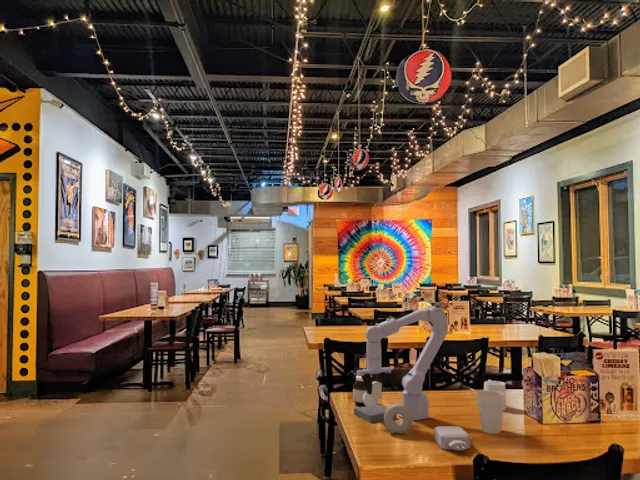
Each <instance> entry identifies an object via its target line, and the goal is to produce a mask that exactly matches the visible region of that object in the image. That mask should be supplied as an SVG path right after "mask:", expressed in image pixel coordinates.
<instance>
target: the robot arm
mask: <svg viewBox="0 0 640 480" xmlns="http://www.w3.org/2000/svg"><path fill="white" fill-rule="evenodd" d="M447 320H448V317H447V314H446V312H445V311H444V309H443V308H441V307H438V306H437V307H436V306H434V305H430V306H427V307H422V308H420V309H418V310H415V311H412V312H411V313H409V314H406V315H404V316H402V317H400V318H397V319H395V318H393V317H392V318H390V317H388V318H386V320H385V321H382V322H380V323H375V326H374V325H371V326H369V327H367V328H366V330H365V333H364V335H365V337H366V346H365V347H366V349H365V350H366V353H365V354H366V368H363V369H359V370H358V369H357V370H356V376H361V377H362V379H363V381H364V383H365V386H366V390H367V394H370V395H371V394H372V381H373V380H374V377H373V375H375V381H376V382H379V383H382V389H383V388H384V385H385V383H386V380H387V378H388V374H391V373H392V367H389V366H387V367H386V366H385V367H384V366H383V367H382V345H381V340H382V338H383V339H385V338H387V337H390V336H392V335H395V334H397V333H398V332H400V329H401V328H402V327H405V326H408V325H411V324H413V323H416V322H419V321H421V322H428V324H429V326H430V328H431V335H430V336H429V338H428V339H427V341H426V343H425V344H424V345H425V346H424V347H423V348H422V351H421V352H420V355H419V357H418V358H417V359H416V362H415V363H414V365H413V367H412V368H411V369H410V370H409V371H408V373H406V375H404V376H403V377H402V379H401V385H402V388H403V391H402V405H404V406H406V407H407V408H408V409H409V410H410V412H411V414H412V418H413V421H419V420H425V419H430V417H431V416H429V399H428V396H427V394H425V393H424V392H422V391H423V384H424V382H425V378H426V374H427V372H428V370H429V368H430V366H431V364H432V362H433V361H434V359H435V357H436V355H437V354H438V351H439V349H440V347H441V345H442V344H443V342H444V340H445V339H446V337H447V334H448V329H447V328H448V327H447V325H448V324H447ZM371 376H372V377H371ZM373 382H374V381H373ZM397 416H398V417H400V418H402V419H403V417H402V415H400V414H397ZM413 421H412V422H413Z"/></svg>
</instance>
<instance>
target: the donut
mask: <svg viewBox="0 0 640 480" xmlns="http://www.w3.org/2000/svg"><path fill="white" fill-rule="evenodd" d="M387 408H388V409H387V410H386V412H385V414H384V420H383V421H384V424H385V426H386V428H387V429H388V430H389V431H390V432H391V433H393V434H398V435H399V434H404V433H406V432H407V431H409V430H410V429H411V427H412V425H413V418H412V414H411V412H410V410H409V409H408V408H407V407H406V406H404V405H403V404H401V403H394V404H391V405H390V406H388V407H387ZM396 414H397V415H402V417H403V418H402V417H401V418H402V421H401V422H396V421H395V419H393V418H394V416H395V415H396Z"/></svg>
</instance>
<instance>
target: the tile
mask: <svg viewBox="0 0 640 480" xmlns="http://www.w3.org/2000/svg"><path fill="white" fill-rule="evenodd" d="M388 408H389V407H386V406H384V405H382V404H379V403H378V404H377V405H372V406H358V407H354V408H353V415H354V416H356V417H358V418H360V419H363V420H364V421H366V422H368V423H374V422H382V421H384V414H385V412H386V410H387V409H388ZM397 416H398V414H396V415H395V416H394V418H393V419H394V420H395V419H397Z"/></svg>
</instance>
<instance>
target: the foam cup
mask: <svg viewBox="0 0 640 480" xmlns="http://www.w3.org/2000/svg"><path fill="white" fill-rule="evenodd" d="M476 400H477V406H478V412H479V413H478V414H479V417H480V424H481V425H480V426H481V429H482V432H483V433H487V434H491V435H492V434H493V435H494V434H495V435H496V434H500V433H502V426H503V416H504V410H503V407H504V402H505V399H504V393H502V392H498V391H491V390H485V389H483V390H478V391H476Z"/></svg>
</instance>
